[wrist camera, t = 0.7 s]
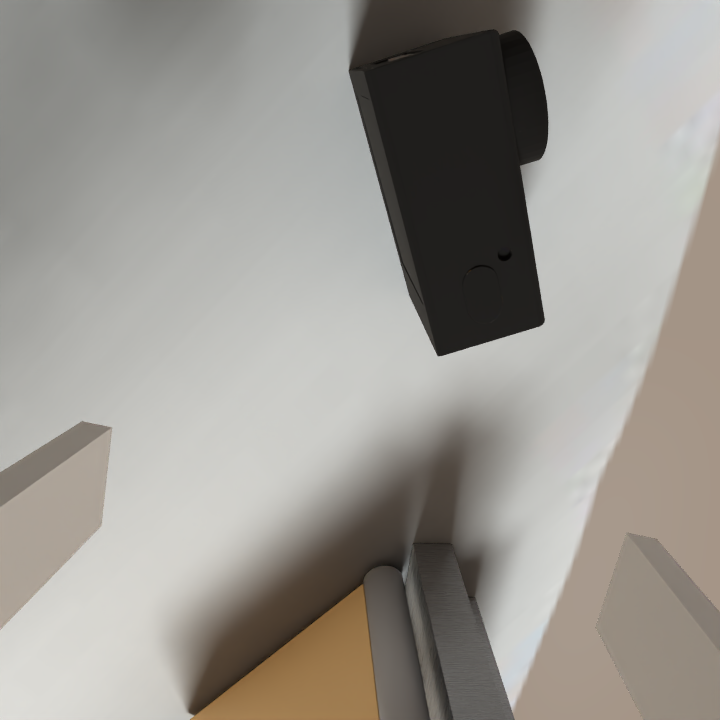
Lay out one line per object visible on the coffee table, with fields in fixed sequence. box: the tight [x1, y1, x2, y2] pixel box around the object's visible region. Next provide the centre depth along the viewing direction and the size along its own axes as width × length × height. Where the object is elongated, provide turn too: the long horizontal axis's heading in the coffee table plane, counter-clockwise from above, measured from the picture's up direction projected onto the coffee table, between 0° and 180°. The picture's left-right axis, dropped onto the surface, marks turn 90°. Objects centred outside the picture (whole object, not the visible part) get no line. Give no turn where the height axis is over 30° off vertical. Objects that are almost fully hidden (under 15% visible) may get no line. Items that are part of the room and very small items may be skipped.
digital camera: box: [349, 29, 548, 356], centre depth 23 cm, size 10×5×7 cm, turn 16°
